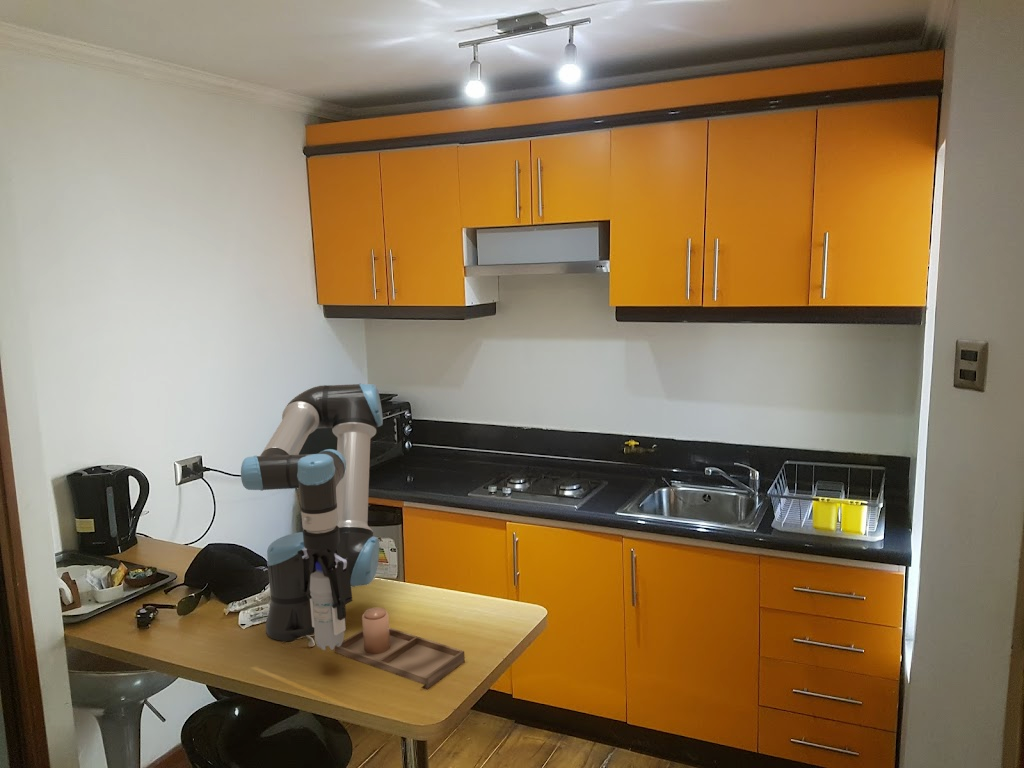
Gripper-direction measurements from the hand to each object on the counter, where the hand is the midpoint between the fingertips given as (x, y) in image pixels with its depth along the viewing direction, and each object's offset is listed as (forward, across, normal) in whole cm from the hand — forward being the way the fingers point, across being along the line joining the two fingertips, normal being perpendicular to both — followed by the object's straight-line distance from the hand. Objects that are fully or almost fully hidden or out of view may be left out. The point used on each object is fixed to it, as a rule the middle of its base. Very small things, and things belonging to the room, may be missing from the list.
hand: (328, 628), depth 166 cm
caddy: (+11, +8, +12) cm, 19 cm away
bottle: (+4, 0, 0) cm, 4 cm away
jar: (+10, +2, +12) cm, 16 cm away
